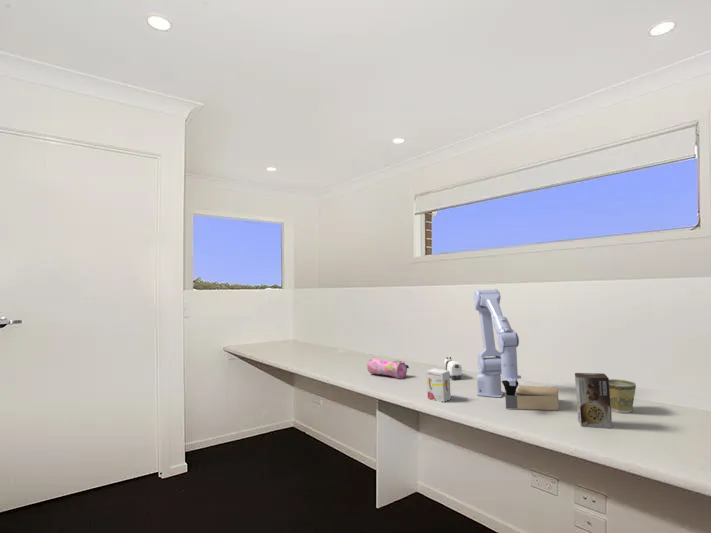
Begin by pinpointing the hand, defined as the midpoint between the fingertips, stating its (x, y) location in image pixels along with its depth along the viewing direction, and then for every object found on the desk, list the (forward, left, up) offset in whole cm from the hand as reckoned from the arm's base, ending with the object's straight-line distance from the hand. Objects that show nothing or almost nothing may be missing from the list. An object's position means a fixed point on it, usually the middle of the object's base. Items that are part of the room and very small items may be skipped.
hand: (510, 400), depth 157 cm
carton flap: (+7, 0, -2) cm, 8 cm away
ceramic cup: (+37, +11, -3) cm, 39 cm away
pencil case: (-65, +34, -3) cm, 73 cm away
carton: (+9, +9, -3) cm, 13 cm away
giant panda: (-32, +41, -3) cm, 53 cm away
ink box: (-28, +2, -3) cm, 29 cm away
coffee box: (+27, -9, -3) cm, 28 cm away
